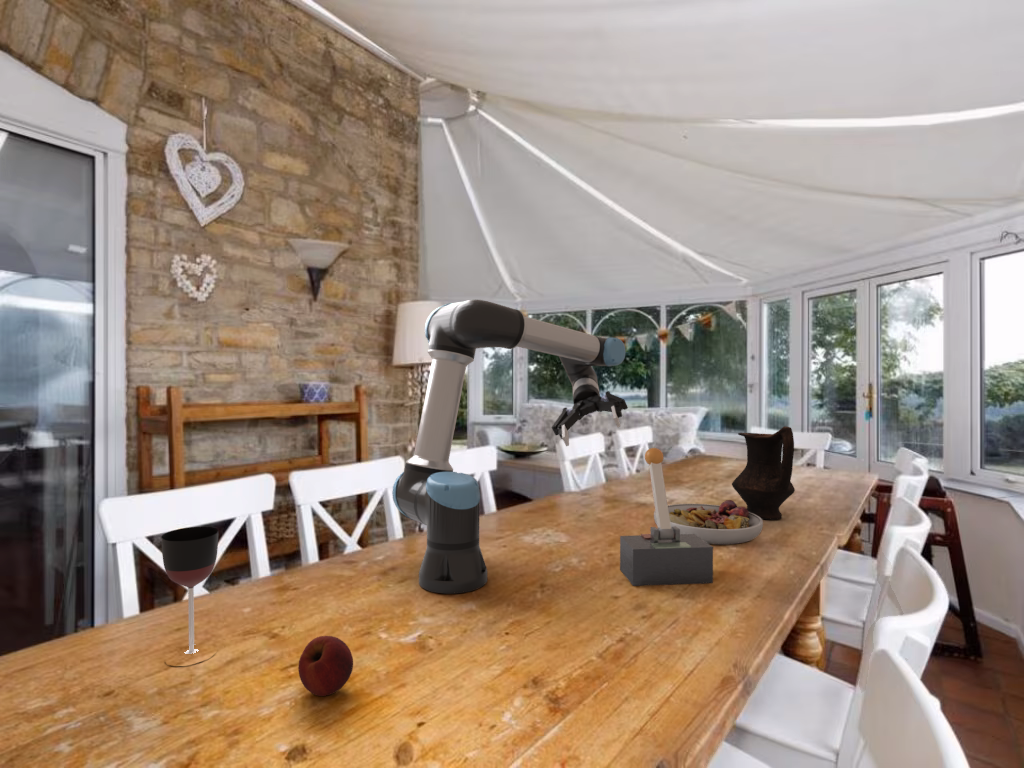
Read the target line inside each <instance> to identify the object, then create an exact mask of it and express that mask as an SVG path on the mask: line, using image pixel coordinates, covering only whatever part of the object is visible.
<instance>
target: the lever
mask: <svg viewBox="0 0 1024 768" xmlns="http://www.w3.org/2000/svg"><path fill="white" fill-rule="evenodd" d="M644 461H645V462H646V463H647V465H648V467H649V474H650V481H651V489H652V496H653V505H654V511H655V512H656V519H657V524H656V526H657V527H656V528H657V529H658V539H659V540H661V539H673V537H674V532H673V529H672V528H671V524H670V517H669V511H668V498H667V491H666V485H665V484H666V483H665V477H664V471H663V466H662V464H663V462H664V453H663V452H662V450H660V449H659V448H657V447H650V448H649V449H647V450H646V451H645V454H644Z"/></svg>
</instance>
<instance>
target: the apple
mask: <svg viewBox="0 0 1024 768" xmlns="http://www.w3.org/2000/svg"><path fill="white" fill-rule="evenodd" d="M297 668H298V676H299V679H300V681H301V684H302V685H303V687H304V688H305V689H306V690H307V691H308V692H310V693H311V694H312V695H315V696H319V697H324V696H325V697H326V695H327V696H329V695H332V694H334V692H335V693H336V692H338V691H339V690H340V689H342V688H343V686H346V683H347V682H348V681H349V679H350V678H351V675H352V673H353V668H354V658H353V654H352V652H351V649H350V647H348V645H347V644H346V643H345V642H344V641H343V640H342V639H340V638H339V637H336V636H332V635H321V636H317V637H315V638H313V639H312V640H310V641H309V642H308V644H307V645H306V646H304V649H303V650H302V652H301V654H300V658H299V660H298V667H297Z"/></svg>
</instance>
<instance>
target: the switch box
mask: <svg viewBox="0 0 1024 768" xmlns="http://www.w3.org/2000/svg"><path fill="white" fill-rule="evenodd" d="M657 528H658V527H655V526H651V527H650V533H641V534H639V535H619V539H620V540H619V544H620V545H619V570H620V571H621V573H622V574H623V575H624V577H625V578H626V579H627V580H628V581H629V582H630V584H631V585H632V587H635V586H636V587H639V586H664V585H665V586H667V585H671V586H672V585H696V584H700V585H701V584H714V583H713V582H714V546H712V544H708V543H706V542H705V541H704V540H702V539H701V538H699V537H698V536H696V535H695V534H680V529H679V528H677V527H676V526H674V527H672V529H673V532H674V537H673V539H661V540H659V539H658V529H657Z"/></svg>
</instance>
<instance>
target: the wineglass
mask: <svg viewBox="0 0 1024 768" xmlns="http://www.w3.org/2000/svg"><path fill="white" fill-rule="evenodd" d="M160 540H161V556H162V562H163V568H164V571H165V573H166V574H167V577H168V578H169V580H170V581H172V582H173V583H175V584H177V585H179V586H183V587H187V594H188V596H187V597H188V599H187V601H188V603H187V604H188V605H187V606H188V609H187V610H188V646H189V650H187V651H186V652H184V653H185V654H192V653H193V654H194V653H196V651H197V652H198V651H199V650H198V649H194V645H195V608H194V607H195V604H194V603H195V599H194V598H195V596H194V595H195V594H194V593H195V592H194V591H195V590H194V588H195V586H197V585H199V584H201V583H202V582H204V581H205V580H206V579H207V578H208V577H210V575H211V574H212V572H213V571H214V568H215V565H216V562H217V556H218V547H219V546H218V545H219V529H218V528H216V527H212V526H192V527H184V528H178V529H174V530H171V531H168V532H166V533H164V534H162V535H161V539H160Z"/></svg>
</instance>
